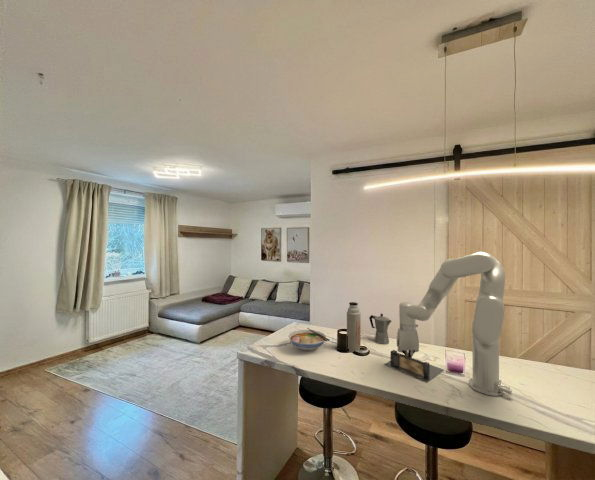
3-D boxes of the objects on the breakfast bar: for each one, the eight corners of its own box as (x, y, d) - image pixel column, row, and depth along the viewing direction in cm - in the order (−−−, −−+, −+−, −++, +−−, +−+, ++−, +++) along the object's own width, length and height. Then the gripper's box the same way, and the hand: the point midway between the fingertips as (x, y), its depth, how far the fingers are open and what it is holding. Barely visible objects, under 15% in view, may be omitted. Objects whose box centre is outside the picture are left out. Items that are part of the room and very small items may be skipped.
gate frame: (444, 370, 130) (443, 356, 130) (427, 382, 119) (427, 367, 119) (402, 355, 147) (402, 343, 147) (384, 364, 136) (384, 351, 136)
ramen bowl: (281, 344, 163) (282, 330, 163) (313, 338, 173) (313, 326, 173) (298, 360, 140) (298, 345, 141) (334, 353, 150) (334, 338, 150)
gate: (424, 374, 124) (424, 361, 124) (422, 375, 123) (422, 362, 123) (397, 363, 135) (397, 352, 135) (395, 364, 134) (395, 352, 134)
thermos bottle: (363, 350, 153) (363, 303, 153) (353, 354, 149) (353, 305, 149) (353, 346, 160) (353, 300, 160) (343, 349, 155) (344, 302, 155)
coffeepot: (394, 342, 165) (394, 314, 165) (387, 346, 159) (387, 317, 159) (373, 336, 176) (373, 309, 176) (365, 339, 170) (365, 312, 170)
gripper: (418, 324, 137) (419, 359, 137) (390, 325, 137) (391, 360, 136) (425, 329, 130) (426, 366, 129) (396, 329, 129) (397, 367, 129)
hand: (408, 363), depth 133 cm, fingers closed
